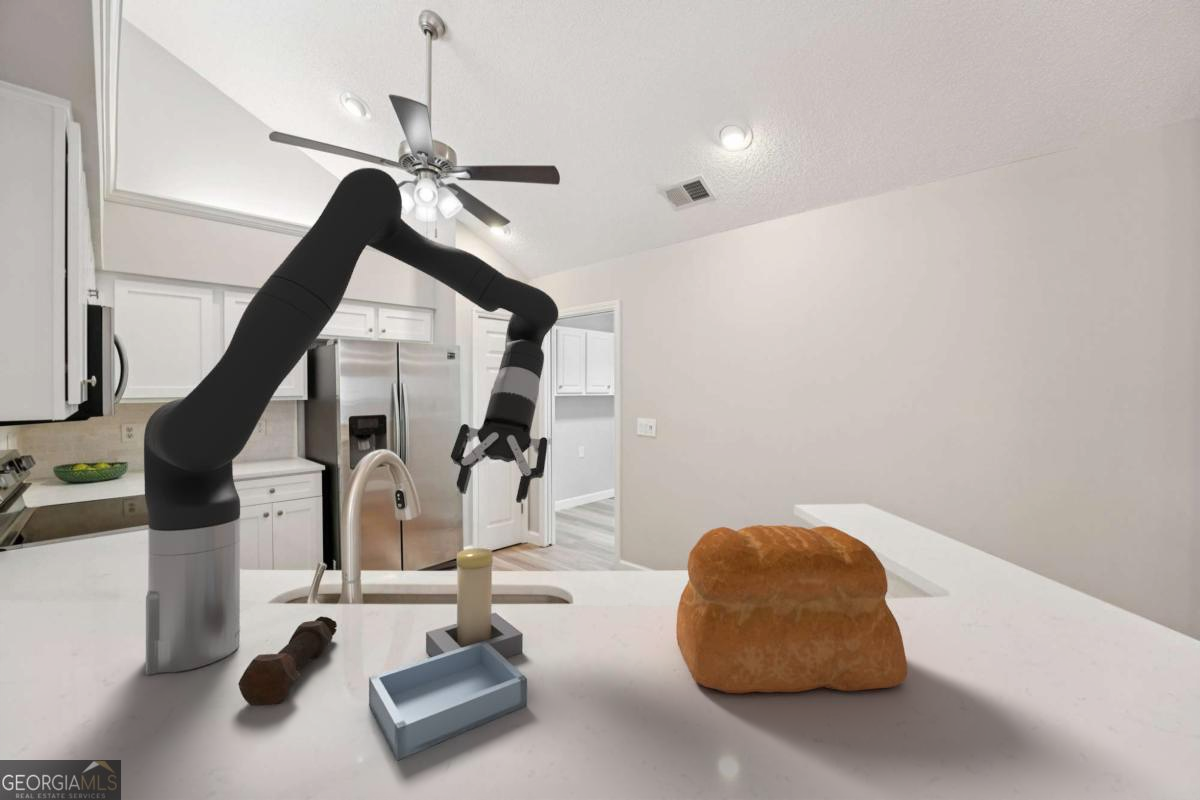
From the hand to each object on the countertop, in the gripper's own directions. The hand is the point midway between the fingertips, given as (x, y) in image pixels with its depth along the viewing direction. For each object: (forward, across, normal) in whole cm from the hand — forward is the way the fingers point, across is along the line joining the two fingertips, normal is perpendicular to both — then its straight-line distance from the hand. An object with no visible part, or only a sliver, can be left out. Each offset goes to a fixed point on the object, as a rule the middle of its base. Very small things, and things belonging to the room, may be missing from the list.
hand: (490, 497), depth 75 cm
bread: (+16, -42, +6) cm, 46 cm away
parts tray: (+26, -2, +11) cm, 28 cm away
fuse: (+21, -3, 0) cm, 21 cm away
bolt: (+26, +18, +2) cm, 31 cm away
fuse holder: (+21, -3, 0) cm, 21 cm away
